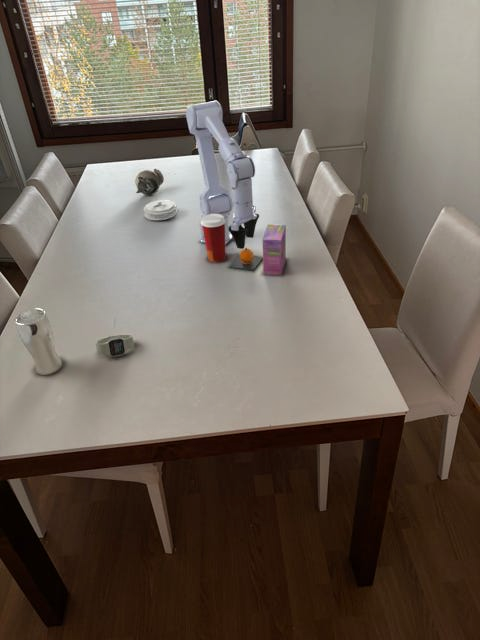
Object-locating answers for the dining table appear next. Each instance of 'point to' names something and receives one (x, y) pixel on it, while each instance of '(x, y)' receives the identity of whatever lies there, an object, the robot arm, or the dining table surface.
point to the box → (274, 249)
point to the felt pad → (251, 267)
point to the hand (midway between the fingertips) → (245, 242)
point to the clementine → (246, 256)
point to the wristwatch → (115, 344)
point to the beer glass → (38, 340)
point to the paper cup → (214, 236)
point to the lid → (160, 210)
